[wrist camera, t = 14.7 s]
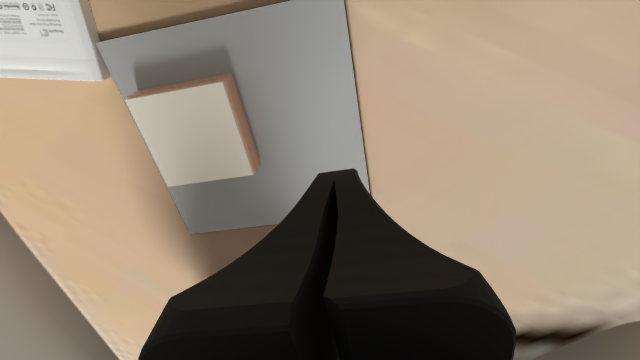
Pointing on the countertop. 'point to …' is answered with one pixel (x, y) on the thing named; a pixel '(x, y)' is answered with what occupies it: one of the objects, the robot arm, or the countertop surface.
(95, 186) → the countertop surface
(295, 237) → the robot arm
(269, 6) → the mat
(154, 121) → the tile
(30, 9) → the external hard drive
